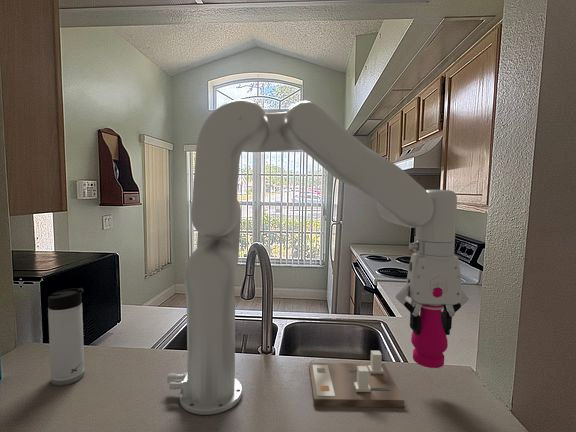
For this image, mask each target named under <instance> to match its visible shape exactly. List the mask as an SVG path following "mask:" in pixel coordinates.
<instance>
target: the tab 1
mask: <svg viewBox="0 0 576 432" xmlns="http://www.w3.org/2000/svg"><path fill="white" fill-rule="evenodd" d="M368 382H369V370H368V368H367V366H357V382H354V387H355V390H356V392H371V388H370V386H369V383H368Z"/></svg>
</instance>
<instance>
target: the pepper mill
mask: <svg viewBox="0 0 576 432" xmlns="http://www.w3.org/2000/svg"><path fill="white" fill-rule="evenodd" d="M433 290H434V292H433V291H432V292H433V296H434V297H436V298H438V297H441V296H442V291H443V290H442V289H441V288H438V287H437V288H434V289H433ZM443 308H444V306H443V305H422V307H421V309H420V312H419V316H420V317H421V327H420V334H419V335H416V334H415V332H414V331H413V330H412V333H411V338H410V341H411V344H412V346H413V347H414V348H413V351H412V359H413V361H414V362H415V363H416V364H418V365H419V366H422V367H425V368H430V369H440V368H443V366H444V365H445V355H444V352H445V351H447V350H448V335H446V334H445V331H444V328H443V325H442V321H441V311H442V310H443Z"/></svg>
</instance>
